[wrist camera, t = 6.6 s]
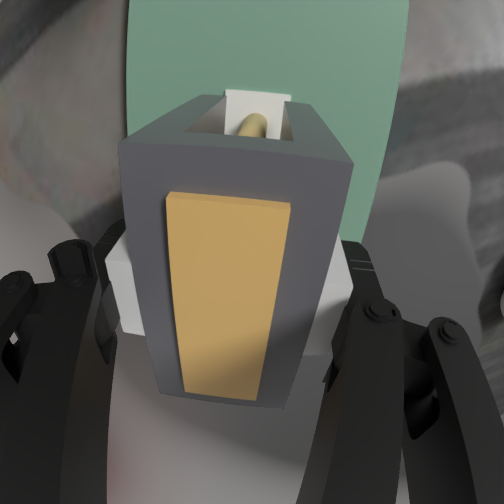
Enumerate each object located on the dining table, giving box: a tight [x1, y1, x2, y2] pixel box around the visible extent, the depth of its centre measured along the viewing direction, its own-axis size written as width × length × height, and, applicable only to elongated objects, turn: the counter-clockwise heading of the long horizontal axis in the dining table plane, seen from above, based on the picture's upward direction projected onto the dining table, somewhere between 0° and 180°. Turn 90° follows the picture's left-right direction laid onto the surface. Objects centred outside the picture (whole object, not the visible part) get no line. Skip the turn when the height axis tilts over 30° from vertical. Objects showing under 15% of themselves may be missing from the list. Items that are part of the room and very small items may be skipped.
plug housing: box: [118, 94, 354, 409], centre depth 11 cm, size 9×5×8 cm, turn 175°
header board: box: [126, 0, 409, 244], centre depth 16 cm, size 22×14×6 cm, turn 175°
